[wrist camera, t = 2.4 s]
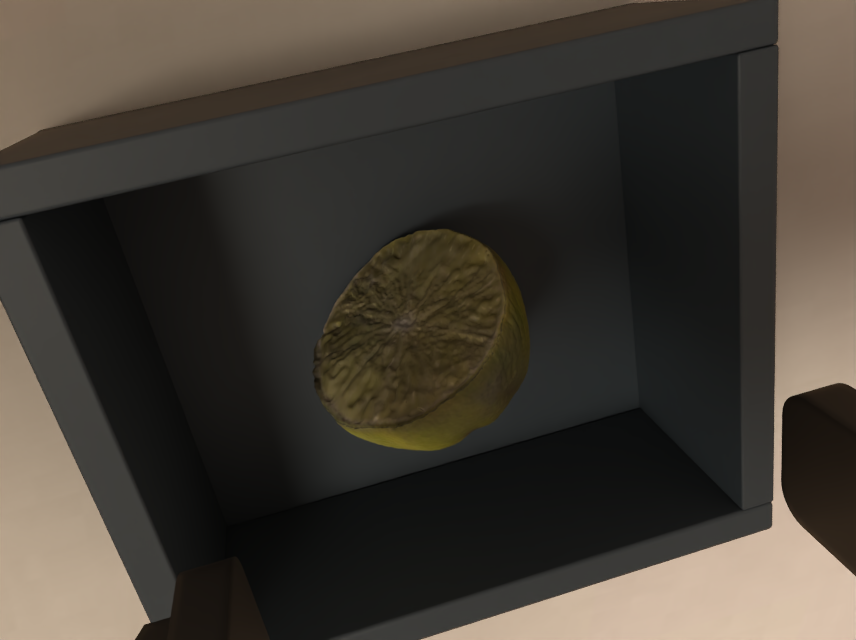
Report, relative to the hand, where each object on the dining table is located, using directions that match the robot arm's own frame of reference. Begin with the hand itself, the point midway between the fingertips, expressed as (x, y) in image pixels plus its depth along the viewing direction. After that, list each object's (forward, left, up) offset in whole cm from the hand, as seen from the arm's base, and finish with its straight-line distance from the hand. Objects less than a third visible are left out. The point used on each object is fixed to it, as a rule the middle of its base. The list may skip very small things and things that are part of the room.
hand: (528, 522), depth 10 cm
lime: (0, 0, -9) cm, 9 cm away
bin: (0, 0, -9) cm, 9 cm away
